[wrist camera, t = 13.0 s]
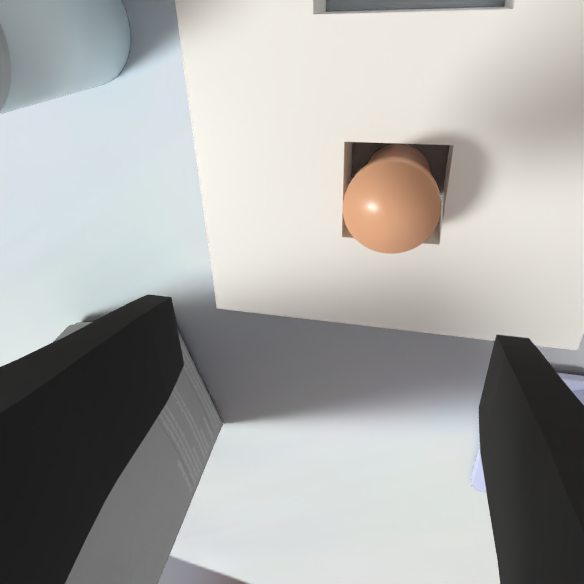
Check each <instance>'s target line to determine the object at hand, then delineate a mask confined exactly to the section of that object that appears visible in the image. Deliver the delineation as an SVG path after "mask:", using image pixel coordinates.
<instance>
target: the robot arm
mask: <svg viewBox="0 0 584 584" xmlns="http://www.w3.org/2000/svg"><path fill="white" fill-rule="evenodd" d="M183 366H184V360H183V355H182V350H181V345H180V340H179V335H178V329H177V324H176V319H175V314H174V309H173V303H172V298H171V297H164V296H155V295H146V296H144V297H141V298H139V299H137V300H135V301H133V302H131V303H128V304H126V305H125V306H123V307H121V308H119V309H117V310H115V311H113V312H111V313H109V314H107V315H105V316H103V317H102V318H100V319H98V320H96V321H94V322H92V323H90V324H88V325H86V326H84V327H83V328H81V329H79V330H77V331H75V332H73V333H71V334H69V335H67V336H65V337H63V338H61V339H59V340H57V341H55V342H53V343H51V344H49V345H47V346H45V347H43V348H41V349H38V350H36V351H34V352H32V353H30V354H28V355H26V356H24V357H22V358H20V359H18V360H15V361H13V362H11V363H9V364H6V365H4V366H2V367H0V584H65V583H66V581H67V578H68V576H69V574H70V572H71V570H72V568H73V566H74V564H75V561H76V559H77V557H78V555H79V553H80V551H81V549H82V547H83V545H84V542H85V540H86V538H87V536H88V534H89V532H90V530H91V528H92V526H93V524H94V522H95V520H96V519H97V517H98V515H99V513H100V511H101V509H102V507H103V505H104V503H105V501H106V499H107V497H108V495H109V494H110V492H111V490H112V489H113V487H114V485H115V483H116V482H117V480H118V478H119V477H120V475H121V474H122V472H123V471H124V469H125V467H126V466H127V464H128V463H129V461H130V460H131V458H132V457H133V455H134V453H135V452H136V450H137V449H138V447H139V446H140V444H141V443H142V441H143V439H144V438H145V436H146V435H147V433H148V432H149V430H150V429H151V427H152V425H153V424H154V422H155V421H156V419H157V418H158V416H159V414H160V413H161V411H162V410H163V408H164V406H165V405H166V403H167V401H168V399H169V397H170V395H171V393H172V391H173V389H174V387H175V385H176V383H177V380H178V378H179V376H180V373H181V371H182V369H183ZM479 433H480V445H479V448H478V452H477V456H476V460H475V464H474V468H473V472H472V476H471V486H472V487H473V488H474V489H475V490H477V491H480V492H486V493H487V498H488V504H489V510H490V516H491V522H492V529H493V535H494V541H495V547H496V553H497V559H498V567H499V575H500V584H584V376H580V375H572V374H564V373H557V372H556V371H555V370H554V369H553V367H552V366H551V365H550V364H549V362H548V361H547V360H546V359H545V357H544V356H543V355H542V353H541V352H540V351H539V350H538V348H537V347H536V346H535V345H534V344H533V342H532V341H531V340H530V339H529V338H524V337H515V336H506V335H497V334H496V338H495V343H494V347H493V351H492V355H491V359H490V363H489V368H488V372H487V376H486V380H485V384H484V388H483V393H482V397H481V401H480V405H479Z"/></svg>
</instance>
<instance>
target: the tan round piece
mask: <svg viewBox="0 0 584 584" xmlns="http://www.w3.org/2000/svg"><path fill="white" fill-rule="evenodd" d="M342 208H343V217H344V221H345V224H346V226H347V228H348V230H349V232H350V233H351V235H352V236H353V237H354V238H355V239H356V240H357V241H358V242H359V243H360V244H362V245H363V246H365V247H367V248H368V249H371V250H373V251H376V252H380V253H386V254H395V253H402V252H406V251H409V250H412V249H414V248H416V247H418V246H419V245H421V244H422V243H424V242H425V241H426V240H427V239H428V238H429V237H430V236H431V234H432V233H433V232H434V230H435V228H436V226H437V224H438V221H439V218H440V212H441V199H440V192H439V188H438V185H437V183H436V181H435V179H434V177H433V176H432V175H431V169H430V165H429V163H428V160H427V159H426V157H425V156H424V155H423V154H422V153H421V152H420V151H419V150H418V149H416V148H414V147H413V146H410V145H406V144H391V145H387V146H385V147H383V148H381V149H379V150H378V151H377V152H375V153H374V154H373V155H372V156H371V158H370V159H369V161H368V163H367V165H365V166H364V167H363V168H361V169H360V170H359V171H358V172H357V173H356V174H355V176H354V177H353V178H352V180H351V182H350V184H349V186H348V188H347V191H346V193H345V196H344V200H343V207H342Z"/></svg>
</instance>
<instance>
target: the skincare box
mask: <svg viewBox="0 0 584 584" xmlns="http://www.w3.org/2000/svg"><path fill="white" fill-rule="evenodd" d="M90 323H92V322H79V323H76V324H74V325H70V326H68V327H67V328H66V329H65V330H64V331H63V332H62V333H61V334H60V335H59V336H58V338H57V339H56V340H55V341H57V340H59V339H61V338H63V337H65V336H67V335H69V334H71V333H73V332H75V331H77V330H79V329H81V328H83V327H84V326H86V325H88V324H90ZM178 335H179V340H180V345H181V350H182V355H183V360H184V366H183V369H182V371H181V373H180V376H179V378H178V380H177V383H176V385H175V387H174V389H173V391H172V393H171V395H170V397H169V399H168V401H167V403H166V405H165V406H164V408H163V410H162V411H161V413H160V414H159V416H158V418H157V419H156V421H155V422H154V424H153V425H152V427H151V429H150V430H149V432H148V433H147V435H146V436H145V438H144V439H143V441H142V443H141V444H140V446H139V447H138V449H137V450H136V452H135V453H134V455H133V457H132V458H131V460H130V461H129V463H128V464H127V466H126V467H125V469H124V471H123V472H122V474H121V475H120V477H119V478H118V480H117V482H116V483H115V485H114V487H113V489H112V490H111V492H110V494H109V495H108V497H107V499H106V501H105V503H104V505H103V507H102V509H101V511H100V513H99V515H98V517H97V519H96V520H95V522H94V524H93V526H92V528H91V530H90V532H89V534H88V536H87V538H86V540H85V542H84V545H83V547H82V549H81V551H80V553H79V555H78V557H77V559H76V561H75V564H74V566H73V568H72V570H71V572H70V574H69V576H68V578H67V581H66V583H65V584H158V582H159V579H160V577H161V574H162V572H163V569H164V567H165V564H166V562H167V560H168V557H169V555H170V552H171V550H172V547H173V545H174V542H175V540H176V537H177V535H178V533H179V530H180V528H181V525H182V523H183V520H184V518H185V516H186V513H187V511H188V508H189V506H190V503H191V501H192V498H193V496H194V493H195V491H196V488H197V486H198V484H199V481H200V479H201V476H202V473H203V471H204V469H205V466H206V464H207V461H208V459H209V456H210V454H211V451H212V449H213V446H214V444H215V442H216V439H217V437H218V434H219V432H220V430H221V427H222V426H223V423H222V421H221V419H220V417H219V415H218V412H217V410H216V408H215V406H214V404H213V402H212V400H211V398H210V396H209V394H208V392H207V390H206V387H205V385H204V383H203V381H202V379H201V377H200V375H199V373H198V371H197V369H196V367H195V365H194V362H193V360H192V358H191V356H190V354H189V352H188V350H187V348H186V346H185V344H184V341H183V339H182V337H181V335H180V333H179V331H178ZM55 341H54V342H55Z"/></svg>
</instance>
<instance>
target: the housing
mask: <svg viewBox="0 0 584 584" xmlns="http://www.w3.org/2000/svg"><path fill="white" fill-rule="evenodd" d="M175 6H176V14H177V21H178V28H179V36H180V43H181V50H182V58H183V65H184V72H185V80H186V87H187V94H188V102H189V109H190V116H191V124H192V131H193V138H194V146H195V153H196V160H197V168H198V175H199V182H200V190H201V197H202V204H203V212H204V219H205V227H206V234H207V241H208V249H209V256H210V263H211V271H212V278H213V285H214V293H215V300H216V307H217V309H225V310H234V311H242V312H251V313H259V314H268V315H276V316H285V317H294V318H302V319H311V320H319V321H328V322H336V323H345V324H353V325H362V326H370V327H379V328H388V329H396V330H405V331H413V332H422V333H430V334H439V335H447V336H456V337H465V338H473V339H482V340H490V341H495V338H496V334H497V335H506V336H515V337H524V338H529V339H530V340H531V341H532V342H533V344H534V345H535V346H541V347H550V348H559V349H567V350H576V351H577V350H578V348H579V345H580V342H581V339H582V336H583V334H584V0H505V5H504V7H478V8H442V9H407V10H371V11H335V12H326V0H175ZM352 142H370V143H400V144H431V145H450V146H449V154H448V161H447V168H446V175H445V182H444V189H443V196H442V204H441V212H440V218H439V222H438V224H437V226H436V228H435V230H434V232H433V233H432V234H431V236H430V237H429V238H428V239H427V240H426V241H425V242H424V243H422V244H421V245H419V246H418V247H416V248H414V249H412V250H409V251H406V252H402V253H395V254H386V253H380V252H376V251H373V250H371V249H368V248H367V247H365V246H363V245H362V244H360V243H359V242H358V241H357V240H356V239H355V238H354V237H353V236H352V235H351V233H350V232H349V230H348V228H347V226H346V224H345V221H344V217H343V208H342V207H343V200H344V196H345V193H346V191H347V188H348V186H349V184H350V182H351V166H352Z"/></svg>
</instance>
